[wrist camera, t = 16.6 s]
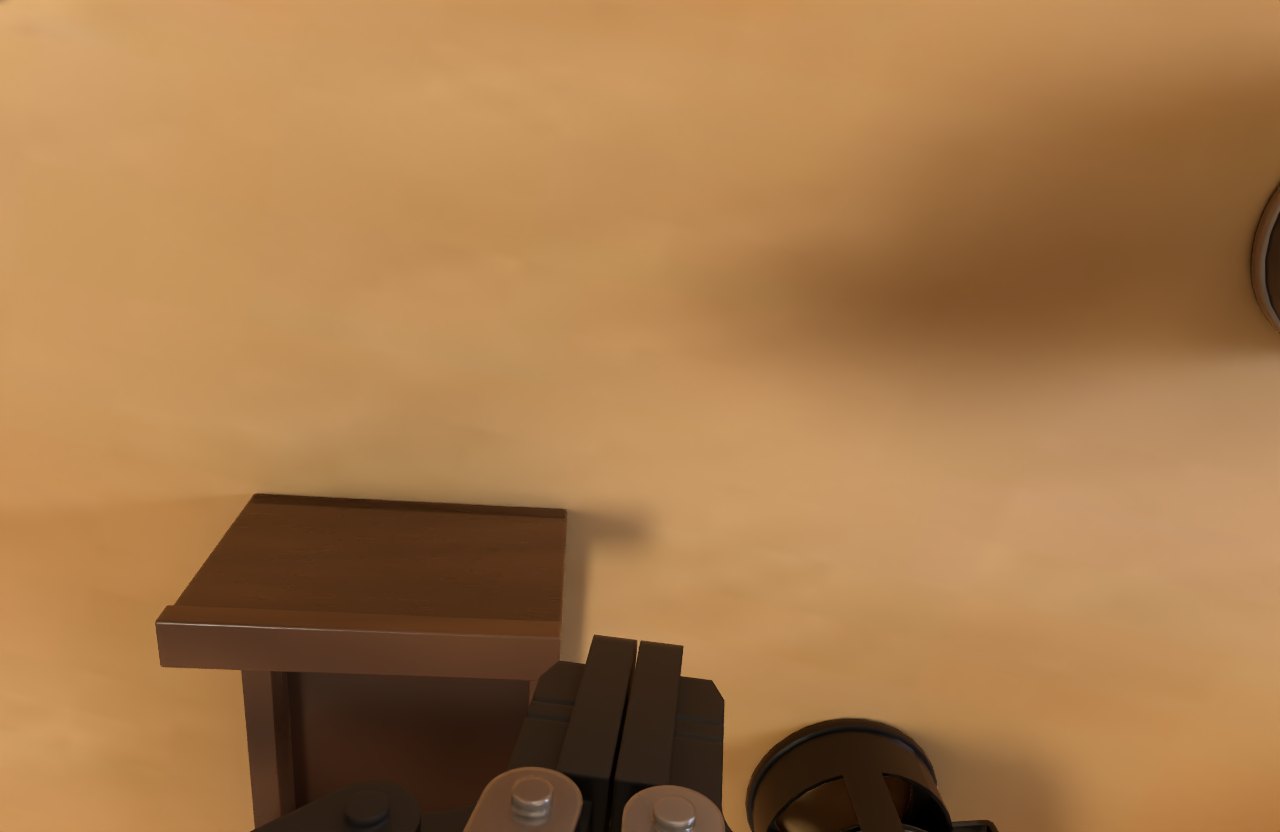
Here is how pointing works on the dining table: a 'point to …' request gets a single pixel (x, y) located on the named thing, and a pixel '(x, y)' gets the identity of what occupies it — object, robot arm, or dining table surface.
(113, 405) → the dining table surface
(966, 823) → the french press
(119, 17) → the dining table surface
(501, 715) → the tray
